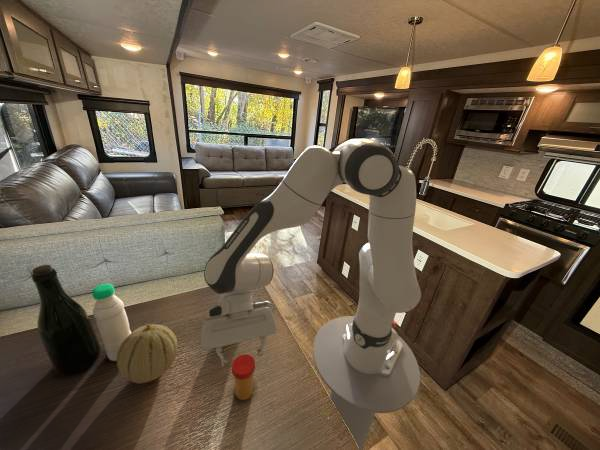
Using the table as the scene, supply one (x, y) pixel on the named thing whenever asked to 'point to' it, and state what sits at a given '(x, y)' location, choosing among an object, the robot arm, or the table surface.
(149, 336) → the cantaloupe
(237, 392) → the orange cylinder
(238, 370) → the lid
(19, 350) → the table surface
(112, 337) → the white milk bottle
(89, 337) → the dark green glass bottle
